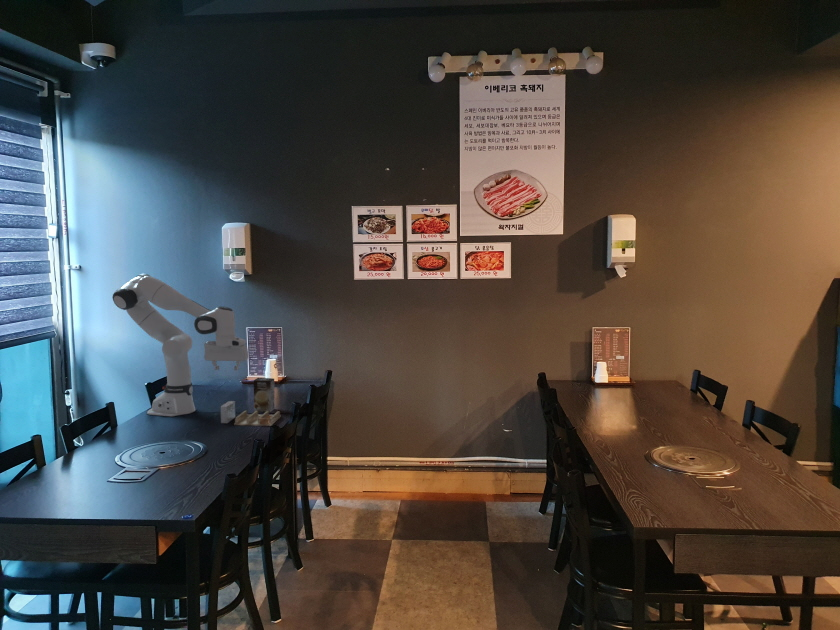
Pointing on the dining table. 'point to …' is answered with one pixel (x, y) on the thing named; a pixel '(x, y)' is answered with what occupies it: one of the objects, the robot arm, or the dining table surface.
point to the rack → (257, 419)
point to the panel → (228, 412)
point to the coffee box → (264, 394)
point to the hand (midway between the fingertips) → (226, 370)
